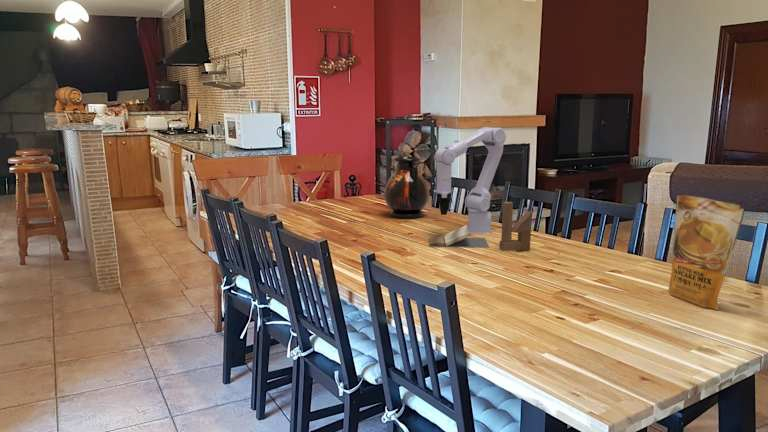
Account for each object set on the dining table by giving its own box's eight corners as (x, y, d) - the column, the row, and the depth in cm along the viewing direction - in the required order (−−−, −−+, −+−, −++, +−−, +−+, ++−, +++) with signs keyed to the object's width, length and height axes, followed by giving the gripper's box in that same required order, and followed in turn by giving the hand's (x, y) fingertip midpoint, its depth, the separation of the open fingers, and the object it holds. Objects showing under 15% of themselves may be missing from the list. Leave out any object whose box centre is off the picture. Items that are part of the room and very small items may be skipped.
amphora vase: (377, 213, 283) (376, 156, 277) (415, 210, 292) (416, 155, 286) (396, 221, 263) (396, 160, 258) (437, 217, 272) (438, 158, 267)
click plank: (467, 227, 227) (466, 224, 227) (470, 235, 213) (469, 232, 213) (445, 237, 228) (443, 234, 228) (446, 246, 215) (445, 243, 214)
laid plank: (444, 237, 228) (444, 235, 228) (446, 246, 215) (446, 243, 214) (429, 237, 229) (429, 234, 229) (429, 246, 215) (429, 243, 215)
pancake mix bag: (676, 288, 167) (685, 193, 162) (734, 310, 149) (747, 203, 144) (657, 291, 165) (666, 194, 159) (715, 313, 147) (727, 205, 142)
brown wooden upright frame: (530, 250, 211) (532, 202, 207) (503, 252, 208) (505, 203, 205) (525, 248, 214) (527, 200, 211) (498, 250, 212) (500, 201, 208)
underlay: (484, 239, 229) (484, 237, 228) (489, 249, 213) (489, 247, 213) (429, 238, 230) (429, 237, 230) (429, 248, 214) (429, 246, 214)
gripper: (433, 176, 236) (433, 209, 238) (434, 181, 221) (433, 216, 224) (450, 177, 235) (450, 209, 238) (452, 181, 221) (451, 216, 224)
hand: (443, 212), depth 231 cm, fingers open, 7 cm apart
